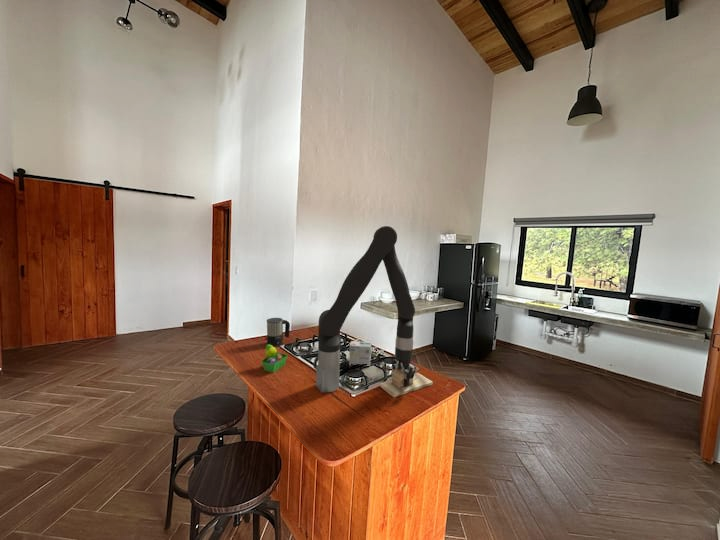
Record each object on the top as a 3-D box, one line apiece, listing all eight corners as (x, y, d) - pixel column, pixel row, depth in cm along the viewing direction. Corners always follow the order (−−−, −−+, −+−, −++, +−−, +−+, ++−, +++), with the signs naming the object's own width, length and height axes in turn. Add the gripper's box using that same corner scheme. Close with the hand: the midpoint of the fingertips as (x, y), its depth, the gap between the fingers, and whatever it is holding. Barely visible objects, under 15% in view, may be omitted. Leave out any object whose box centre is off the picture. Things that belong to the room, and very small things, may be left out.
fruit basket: (273, 374, 134) (273, 351, 132) (258, 370, 137) (258, 347, 135) (288, 364, 144) (288, 342, 143) (273, 361, 147) (273, 339, 146)
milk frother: (274, 348, 163) (273, 323, 162) (255, 342, 171) (255, 318, 170) (292, 341, 175) (292, 317, 174) (274, 335, 184) (274, 313, 182)
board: (393, 397, 118) (394, 394, 118) (379, 386, 126) (379, 383, 126) (432, 384, 130) (432, 381, 129) (417, 374, 138) (417, 372, 138)
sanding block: (398, 388, 123) (399, 375, 122) (391, 383, 127) (392, 370, 126) (413, 383, 127) (413, 371, 126) (405, 378, 131) (406, 366, 130)
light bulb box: (370, 361, 151) (371, 341, 149) (369, 367, 144) (370, 346, 143) (350, 360, 152) (351, 340, 150) (348, 365, 145) (349, 345, 144)
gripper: (387, 342, 129) (385, 378, 131) (408, 353, 117) (406, 393, 119) (400, 339, 133) (398, 374, 135) (422, 350, 121) (419, 388, 123)
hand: (401, 383), depth 127 cm, fingers closed on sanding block, 5 cm apart
